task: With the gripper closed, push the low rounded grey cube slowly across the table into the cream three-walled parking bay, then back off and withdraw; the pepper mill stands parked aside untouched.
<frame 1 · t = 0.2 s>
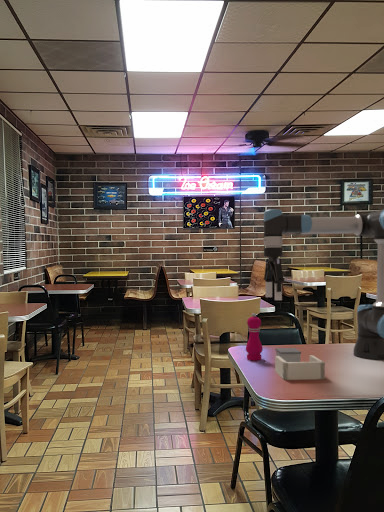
hand: (273, 298, 174), 27 cm above the table, fingers open, 13 cm apart
bay: (298, 374, 159), on the table
rounded grey cube: (288, 366, 172), on the table
pepper mill: (254, 359, 184), on the table
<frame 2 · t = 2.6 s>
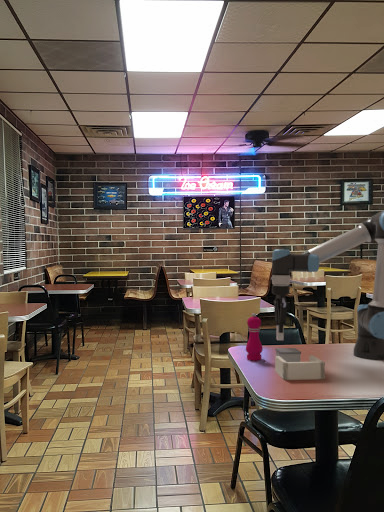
hand: (279, 339, 182), 9 cm above the table, fingers closed
nothing on the table moved.
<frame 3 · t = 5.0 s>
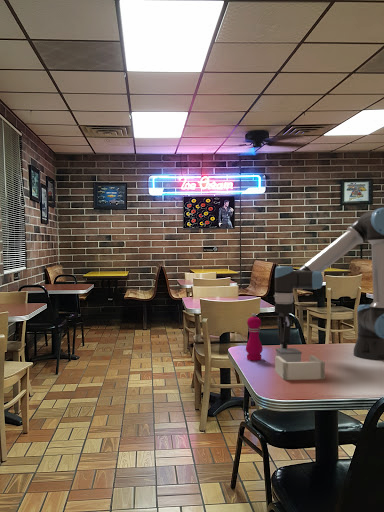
hand: (283, 359, 177), 2 cm above the table, fingers closed
rounded grey cube: (288, 366, 171), on the table, touching gripper
everything else where it was.
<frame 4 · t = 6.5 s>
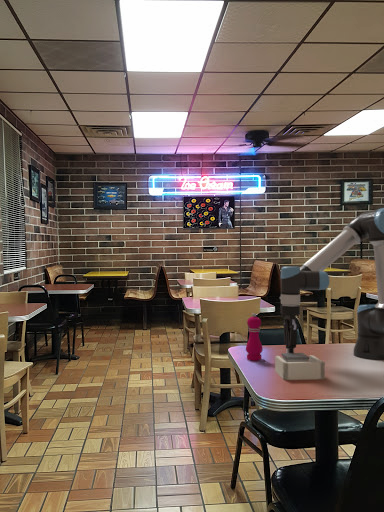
hand: (290, 364, 168), 2 cm above the table, fingers closed
rounded grey cube: (295, 372, 162), on the table, touching gripper
everything else where it was.
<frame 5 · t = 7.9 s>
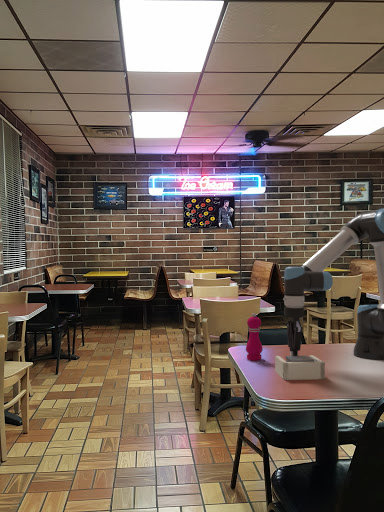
hand: (294, 367, 164), 1 cm above the table, fingers closed
rounded grey cube: (299, 375, 157), on the table, touching bay, gripper
everything else where it was.
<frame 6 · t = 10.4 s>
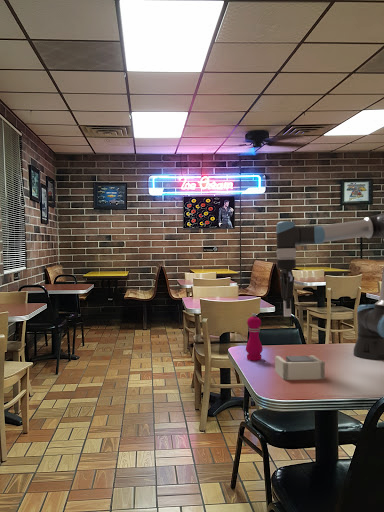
hand: (287, 316, 174), 20 cm above the table, fingers closed
rounded grey cube: (299, 376, 157), on the table
everything else where it was.
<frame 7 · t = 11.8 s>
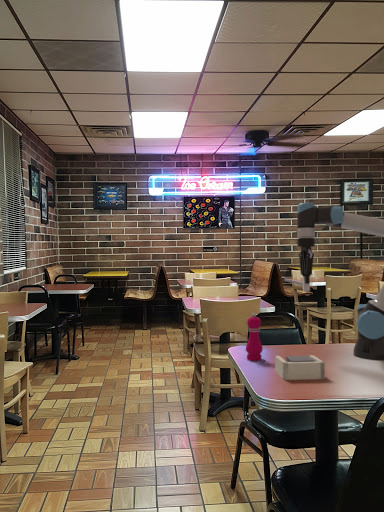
hand: (306, 290, 188), 29 cm above the table, fingers closed
nothing on the table moved.
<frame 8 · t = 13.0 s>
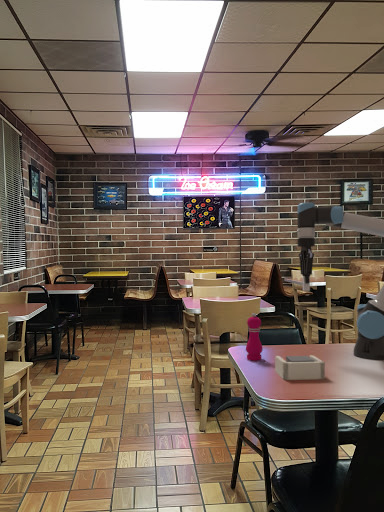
hand: (306, 290, 188), 29 cm above the table, fingers closed
nothing on the table moved.
at the end: rounded grey cube inside the target area (1.6 cm from its centre), on the table; rounded grey cube tilted 0°; pepper mill moved 0.2 cm from its start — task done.
